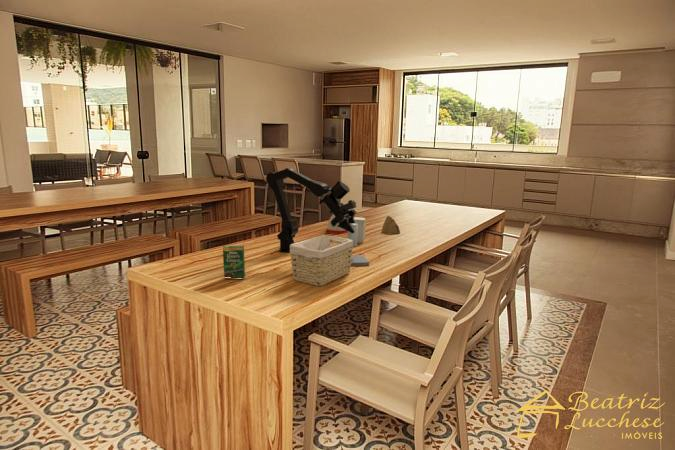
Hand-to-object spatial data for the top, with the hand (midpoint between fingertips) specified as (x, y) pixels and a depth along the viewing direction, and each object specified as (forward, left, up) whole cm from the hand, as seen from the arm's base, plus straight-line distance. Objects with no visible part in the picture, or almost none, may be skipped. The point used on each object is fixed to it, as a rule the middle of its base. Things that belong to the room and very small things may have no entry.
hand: (355, 231), depth 199 cm
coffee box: (-53, -22, -14) cm, 59 cm away
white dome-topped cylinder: (-1, +1, -7) cm, 7 cm away
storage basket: (-18, -22, -14) cm, 32 cm away
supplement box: (+10, +37, -14) cm, 41 cm away
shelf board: (-2, -3, -14) cm, 14 cm away
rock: (+35, +56, -14) cm, 68 cm away
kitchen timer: (+4, +63, -14) cm, 65 cm away
